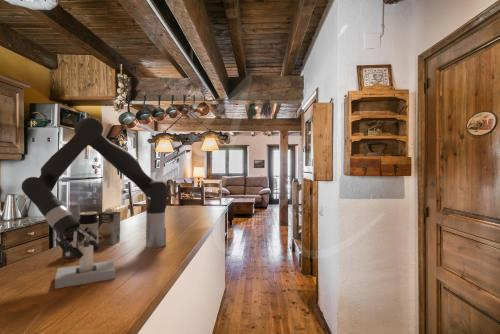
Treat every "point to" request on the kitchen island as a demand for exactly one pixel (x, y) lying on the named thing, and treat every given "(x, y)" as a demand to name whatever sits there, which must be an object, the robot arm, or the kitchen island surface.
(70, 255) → the supplement bottle
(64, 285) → the socket
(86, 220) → the travel mug
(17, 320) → the kitchen island surface
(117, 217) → the coffee box
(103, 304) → the kitchen island surface
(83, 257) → the plug
